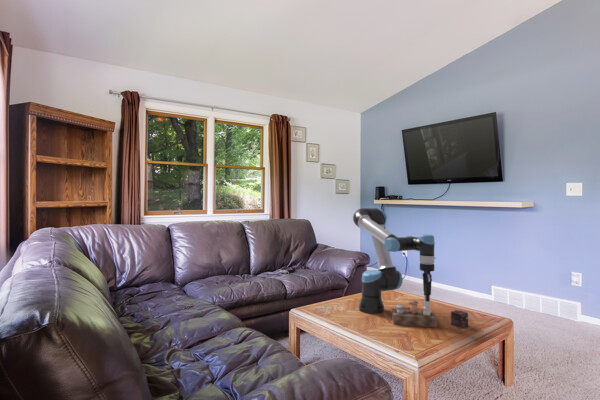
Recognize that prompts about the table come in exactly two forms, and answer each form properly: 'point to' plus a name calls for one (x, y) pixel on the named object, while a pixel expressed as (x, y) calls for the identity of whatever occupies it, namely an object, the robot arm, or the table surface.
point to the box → (459, 319)
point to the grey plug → (400, 309)
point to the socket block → (414, 318)
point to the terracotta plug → (413, 306)
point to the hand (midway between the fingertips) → (427, 306)
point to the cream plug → (426, 310)
